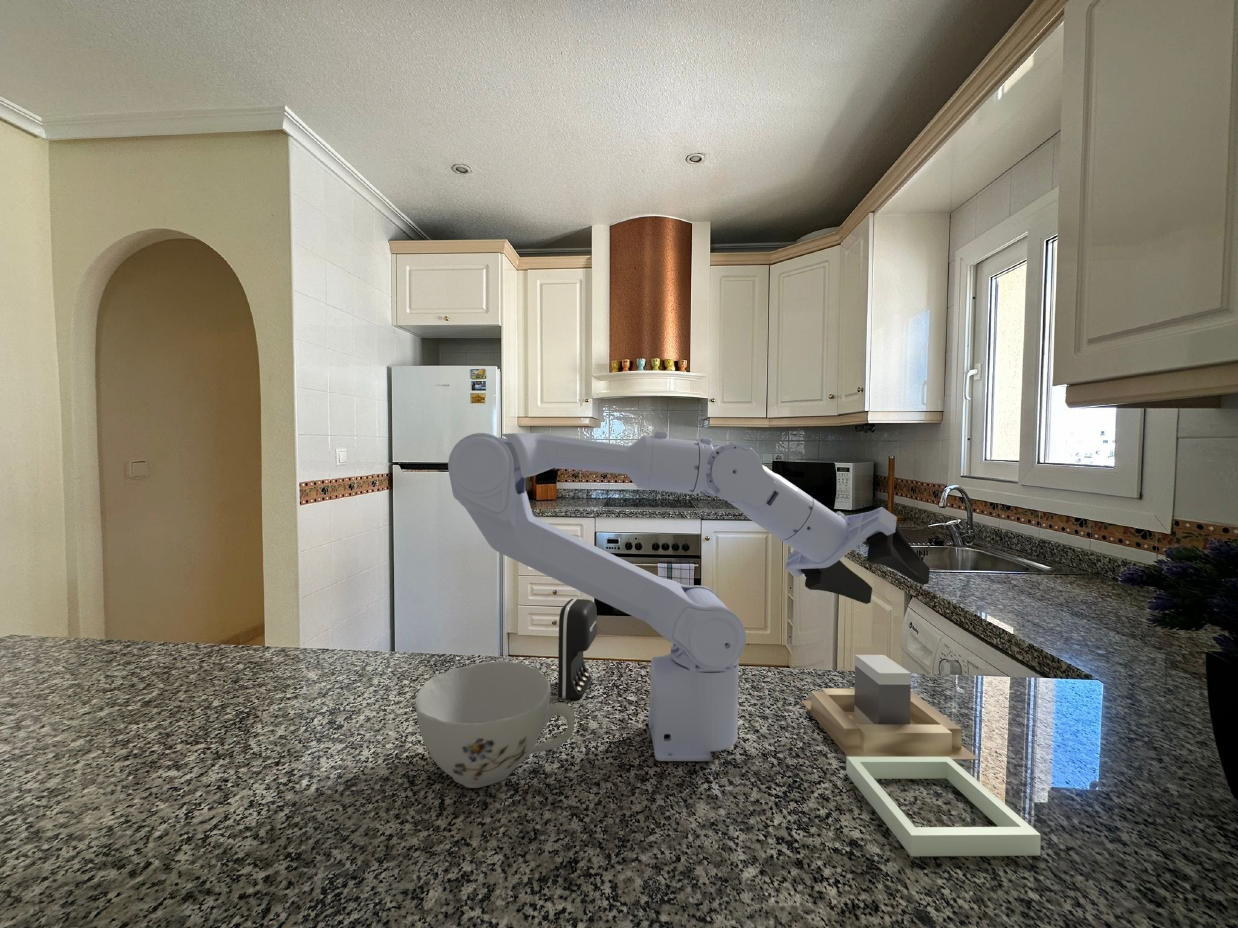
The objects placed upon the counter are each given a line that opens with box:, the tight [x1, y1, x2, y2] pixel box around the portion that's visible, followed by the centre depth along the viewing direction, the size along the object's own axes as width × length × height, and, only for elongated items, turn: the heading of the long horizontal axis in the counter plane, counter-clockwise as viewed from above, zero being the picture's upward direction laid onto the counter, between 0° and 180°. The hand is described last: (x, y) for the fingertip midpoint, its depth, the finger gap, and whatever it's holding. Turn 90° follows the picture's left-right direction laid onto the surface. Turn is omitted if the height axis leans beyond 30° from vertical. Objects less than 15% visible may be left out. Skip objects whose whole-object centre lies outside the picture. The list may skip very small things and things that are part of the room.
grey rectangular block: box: [854, 654, 912, 724], centre depth 55 cm, size 3×5×7 cm
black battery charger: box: [557, 597, 598, 700], centre depth 65 cm, size 7×4×11 cm, turn 171°
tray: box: [845, 756, 1042, 857], centre depth 42 cm, size 10×10×2 cm
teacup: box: [414, 661, 575, 789], centre depth 47 cm, size 15×12×8 cm
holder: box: [801, 687, 980, 761], centre depth 55 cm, size 13×12×3 cm
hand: (896, 586), depth 54 cm, fingers open, 7 cm apart
